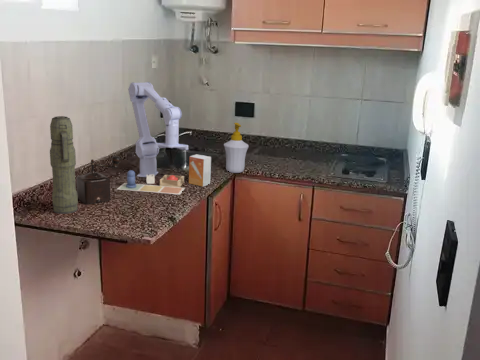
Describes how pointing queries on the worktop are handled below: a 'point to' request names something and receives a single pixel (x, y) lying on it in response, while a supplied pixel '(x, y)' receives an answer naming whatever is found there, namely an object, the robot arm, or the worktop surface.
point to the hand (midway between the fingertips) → (171, 164)
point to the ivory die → (150, 178)
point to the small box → (199, 170)
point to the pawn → (131, 179)
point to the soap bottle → (235, 152)
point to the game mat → (153, 189)
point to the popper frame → (172, 181)
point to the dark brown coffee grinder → (95, 184)
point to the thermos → (63, 166)
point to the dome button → (172, 178)
